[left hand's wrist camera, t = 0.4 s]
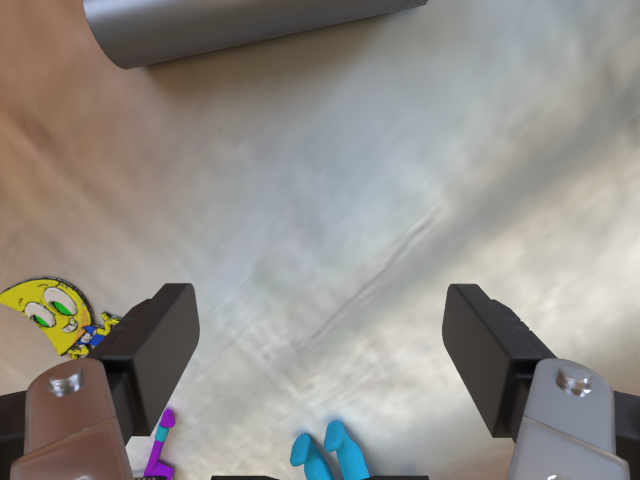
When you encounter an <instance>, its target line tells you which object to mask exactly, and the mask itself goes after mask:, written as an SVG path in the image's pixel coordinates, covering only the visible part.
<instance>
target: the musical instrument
mask: <svg viewBox="0 0 640 480" xmlns="http://www.w3.org/2000/svg"><path fill="white" fill-rule="evenodd" d="M174 425H175V420H174V417H173V415H172V412H171V410H169V409H168V408H167V409H166V410H165V412H164V413H163V416H162V419H161V422H160V424H159V425H158V429H157V432H156V435H155V442H154V446H153V449H152V452H151V455H150V459H149V462H148V465H147V467H146V470H145V473H144V476H143V477H141V478H134V480H173V477H172V476H173V469H172V468H170V467H168V466H166V465H164V464H161V463H159V462H158V460H159V456H160V453H161V450H162V447H163V444H164V441H165V439H166V437H167V435H168V431H169V428H170V427H173V426H174Z"/></svg>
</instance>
